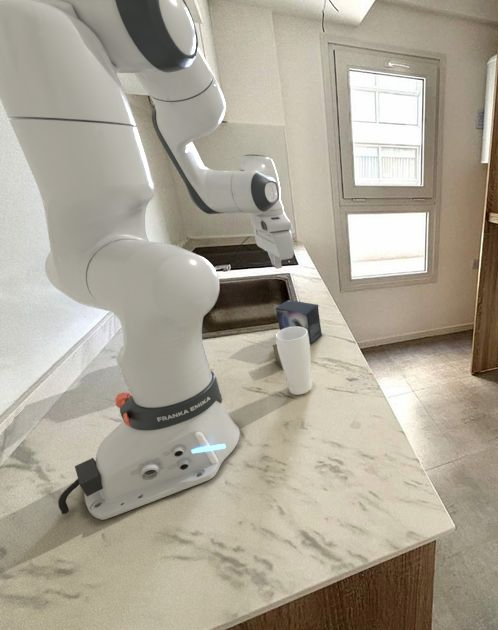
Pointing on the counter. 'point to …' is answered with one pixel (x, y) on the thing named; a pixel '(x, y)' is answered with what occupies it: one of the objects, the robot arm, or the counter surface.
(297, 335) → the drinking glass
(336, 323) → the counter surface
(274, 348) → the walnut block
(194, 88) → the robot arm
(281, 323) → the small box
